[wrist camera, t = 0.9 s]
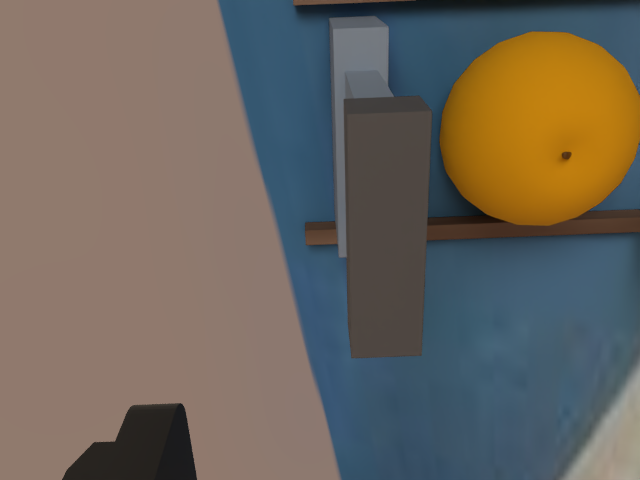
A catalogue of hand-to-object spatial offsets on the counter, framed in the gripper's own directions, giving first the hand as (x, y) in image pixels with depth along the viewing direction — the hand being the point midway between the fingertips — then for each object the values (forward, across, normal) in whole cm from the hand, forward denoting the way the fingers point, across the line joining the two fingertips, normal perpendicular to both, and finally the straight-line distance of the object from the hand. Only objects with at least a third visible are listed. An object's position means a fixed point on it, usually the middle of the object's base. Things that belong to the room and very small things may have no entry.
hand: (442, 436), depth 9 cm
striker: (+21, 0, 0) cm, 21 cm away
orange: (+21, -8, 0) cm, 22 cm away
